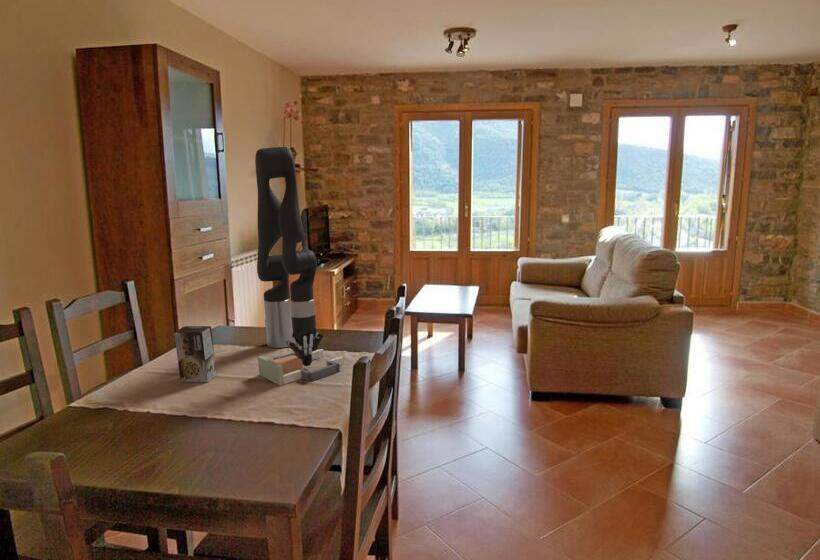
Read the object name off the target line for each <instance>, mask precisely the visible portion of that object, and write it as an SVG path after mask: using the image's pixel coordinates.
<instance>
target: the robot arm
mask: <svg viewBox="0 0 820 560" xmlns="http://www.w3.org/2000/svg"><path fill="white" fill-rule="evenodd" d="M254 161H255V165H254V166H255V173H256V174H255V176H256V186H257V188H256V189H257V212H256V214H257V215H256V216H257V217H256V218H257V219H256V220H257V237H258V239H257V241H258V243H257V244H258V245H257V246H258V247H257V260H256V269H257V270H256V273H257V277H258V279H259V280H260V281H262V282H264V283H266V282H277V281H279V282H278V283H277V284H276V285H275V286H273V287H271V288H270V289H267V290H265V291H264V292H263V303H264V304H263V305H264V316H265V319H264V324H265V327H264V328H265V337H266V344H267V347H269V348H272V349H282V348H287V347H288V348H290V350H291V351H292V352H293V353H294V352H295V353H296V354H299V355H301V359H302V362H303V367H309V366H311V365H312V361H313V360H311V354H312V352H313V351H316V350H318V347H319V345H320V343H321V341H322V339H323V337H324V335H323V334H322V333H319V332H318V330H317V328H316V327H317V318H316V306H315V305H316V304H315V299H314V298H315V297H314V283H315V278H316V272H317V266H318V262H317V261H318V260H317V257H316V254H315V253H314V252H313V250H310V249H302V250H297V245H298V244H300V243H302V242H304V241H305V239H306V232H305V229H304V224H303V219H302V215H301V211H300V203H299V194H298V190H299V189H298V184H297V183H298V182H297V172H296V165H295V161H294V155H293V153H292V151H291V149H290V148H289V147H287V146H276V147H264V148H259V149H258V150H257V151H256V152H255V160H254ZM279 178H284V182H285V183H284V184H285V188H284V189H285V191H284V194H283V198H282V201H280V199H279V198H278V197H277V195H276V194H275V192H274V191H273V190H272V188H271V185H270V180H271V179H279ZM280 239H281V240H282V243H281V244H282V246H281V248H282V249H281V254H273V255H272V254H271V255H270V253H271V250H272V249H273V248H274V246H275V245H276V244H277V243H278V241H280ZM292 275H293V276H295V275H299V277H298V278H297V279H296V280H294V281H292V282H291V283H290V276H292Z"/></svg>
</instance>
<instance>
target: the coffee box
mask: <svg viewBox="0 0 820 560" xmlns="http://www.w3.org/2000/svg"><path fill="white" fill-rule="evenodd" d="M212 332H213V331H212V326H210V325H193V326H189V325H187V326H182V327H181V328H179V329H178V330H176V331H174V332H173V335H174V341H175V342H174V344H175V349H176V356H177V364H178V372H179V378H180V379H179V380H180V382H181V383H209V382H210V381H211V380H212V379H214V378H215V377H216V376H217V367H216V360H215V359H216V358H215V349H214V342H213V341H214V340H213V333H212Z"/></svg>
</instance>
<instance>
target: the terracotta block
mask: <svg viewBox="0 0 820 560" xmlns="http://www.w3.org/2000/svg"><path fill="white" fill-rule="evenodd" d="M270 360H271V361H274V362H276V363H278V364H280V365H283V375H285V374H288V373H291V372H294V371H297V370H300V369H304V365H303V362H302V359H300V358H298V357H297V356H295V355H292V356H288V357H284V358H280V359H276V360H274V359H270Z"/></svg>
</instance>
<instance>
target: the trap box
mask: <svg viewBox="0 0 820 560" xmlns="http://www.w3.org/2000/svg"><path fill="white" fill-rule="evenodd" d="M324 351H325V350H324V349H323V348H320V349H316V351H313V352H312V354H311V360H312V361H314V359H315V360H317V359H320V358H324V357H325V353H324ZM292 355H295V356H297V357H298V358H300V359H301V355H299V354H296V353H295V352H294V351H293V352H291V353H287V354H284V355H280V356H278V357H274V358H273V359H269V358H267V357H265V356H263V355H260V356H257V364H258V374H259V376H260V377H262V378H264V379H267V380H268V381H270V382H272V383H275V384H277V385H278V386H281V387H282V386H284V385H286V384H289V383H292V382H295V381H299V380H304V381H306V382H308V381H309V382H308V383H310V381H311V382H313V381H317V380H319V379H322V378H324V377H328V376H330V375H334V374H337V373H340V369H341V368H340V367H341V366H343V365H344V364H345V360H344V356H342V355H341V356H337V357H335V358H332V359H329V360H327V361H326V366H324V367H321V368H318V369H314V370H312V371H308V370H306V369H304V368H303V369H300V370H297V371H294V372H291V373H288V374H285V375H283V365H280V364H278V363H276V362H274V361H271V360H276V359H280V358H284V357H288V356H292Z"/></svg>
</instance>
